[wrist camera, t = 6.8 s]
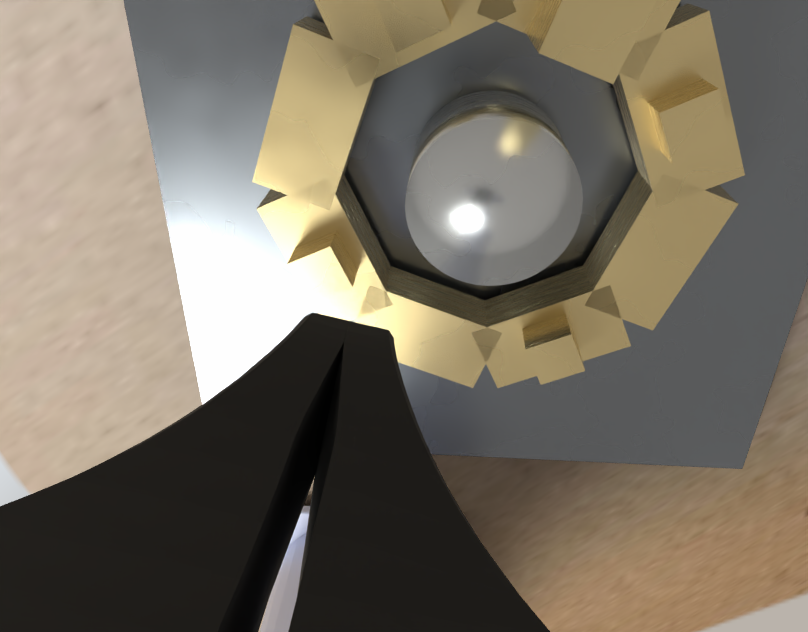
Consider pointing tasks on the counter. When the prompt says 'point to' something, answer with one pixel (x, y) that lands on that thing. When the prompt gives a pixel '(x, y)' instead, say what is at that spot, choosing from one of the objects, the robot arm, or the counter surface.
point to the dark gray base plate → (492, 219)
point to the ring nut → (544, 300)
